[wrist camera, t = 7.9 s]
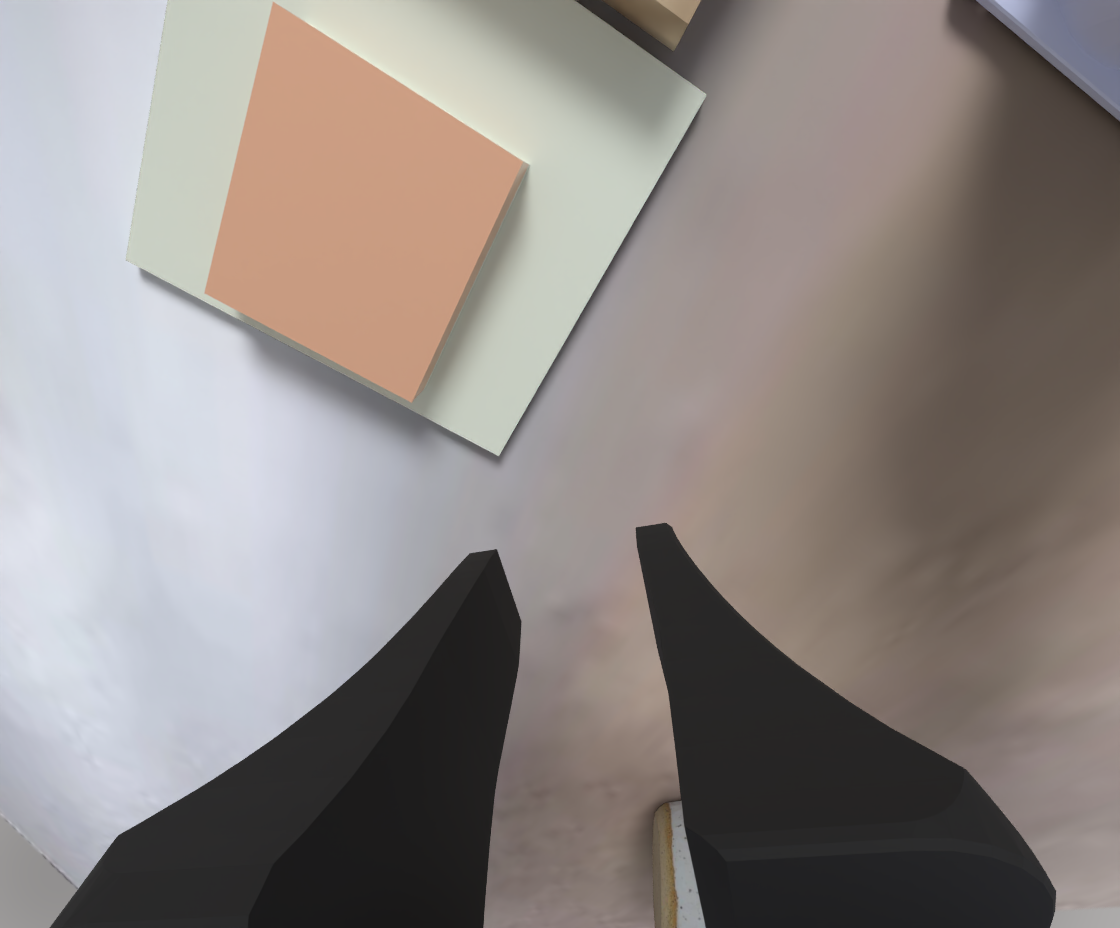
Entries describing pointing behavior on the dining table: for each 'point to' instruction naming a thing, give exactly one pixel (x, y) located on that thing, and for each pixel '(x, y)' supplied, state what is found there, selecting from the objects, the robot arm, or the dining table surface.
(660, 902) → the ceramic mug
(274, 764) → the robot arm
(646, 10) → the light wooden block
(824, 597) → the dining table surface
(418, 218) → the tile
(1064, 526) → the dining table surface
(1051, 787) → the dining table surface
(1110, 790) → the dining table surface
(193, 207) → the mat
